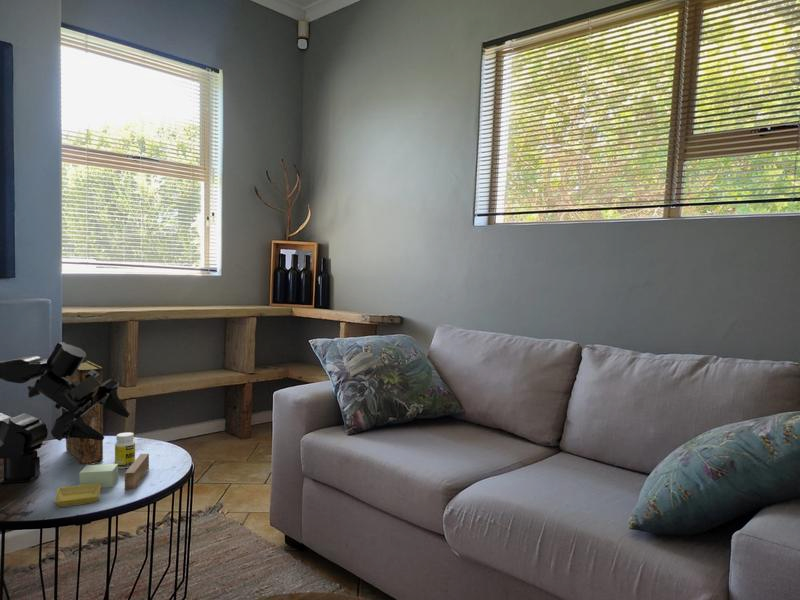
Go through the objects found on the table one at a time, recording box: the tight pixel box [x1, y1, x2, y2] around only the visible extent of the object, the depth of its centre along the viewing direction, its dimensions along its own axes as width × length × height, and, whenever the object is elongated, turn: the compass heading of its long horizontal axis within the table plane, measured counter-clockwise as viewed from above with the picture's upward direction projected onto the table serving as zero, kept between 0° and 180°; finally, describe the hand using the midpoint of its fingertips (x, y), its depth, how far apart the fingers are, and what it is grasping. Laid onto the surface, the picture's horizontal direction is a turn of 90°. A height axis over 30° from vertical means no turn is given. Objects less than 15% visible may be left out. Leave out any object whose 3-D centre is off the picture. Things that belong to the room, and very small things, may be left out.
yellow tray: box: [53, 483, 102, 508], centre depth 126 cm, size 9×9×2 cm
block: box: [79, 463, 119, 488], centre depth 135 cm, size 7×5×4 cm
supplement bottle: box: [114, 432, 136, 470], centre depth 147 cm, size 5×5×8 cm
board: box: [124, 453, 150, 491], centre depth 138 cm, size 2×14×4 cm, turn 11°
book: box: [65, 360, 104, 466], centre depth 154 cm, size 16×6×25 cm, turn 43°
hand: (116, 427), depth 137 cm, fingers open, 9 cm apart
